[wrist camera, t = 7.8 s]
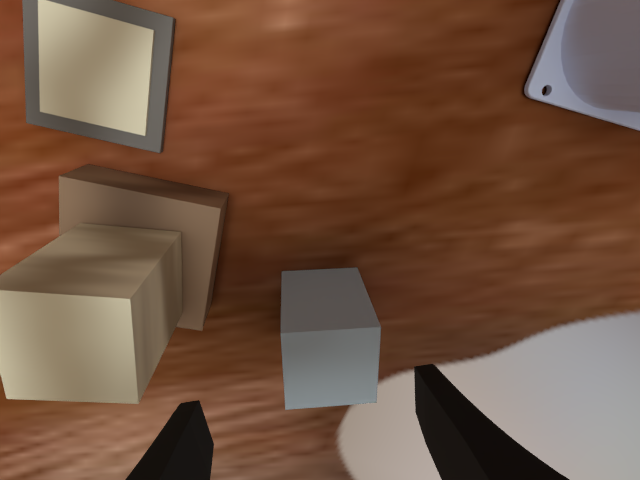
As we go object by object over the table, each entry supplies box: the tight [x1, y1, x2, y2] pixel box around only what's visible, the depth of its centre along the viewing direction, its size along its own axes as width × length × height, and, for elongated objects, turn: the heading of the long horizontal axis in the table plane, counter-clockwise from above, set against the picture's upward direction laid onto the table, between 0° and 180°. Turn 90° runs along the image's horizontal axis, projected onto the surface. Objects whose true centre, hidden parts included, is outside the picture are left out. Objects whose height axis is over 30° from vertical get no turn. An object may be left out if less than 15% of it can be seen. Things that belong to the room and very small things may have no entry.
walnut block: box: [59, 164, 229, 331], centre depth 20 cm, size 7×7×3 cm
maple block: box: [0, 223, 183, 404], centre depth 15 cm, size 4×4×6 cm
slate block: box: [281, 267, 381, 410], centre depth 20 cm, size 4×4×6 cm
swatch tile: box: [23, 0, 176, 153], centre depth 17 cm, size 6×6×1 cm
